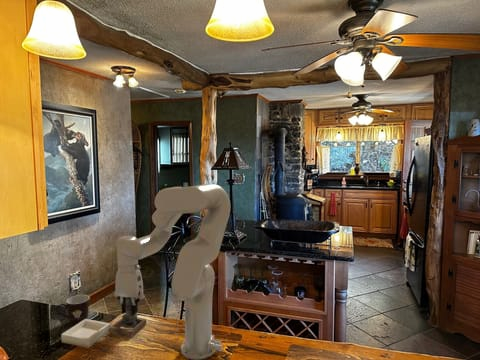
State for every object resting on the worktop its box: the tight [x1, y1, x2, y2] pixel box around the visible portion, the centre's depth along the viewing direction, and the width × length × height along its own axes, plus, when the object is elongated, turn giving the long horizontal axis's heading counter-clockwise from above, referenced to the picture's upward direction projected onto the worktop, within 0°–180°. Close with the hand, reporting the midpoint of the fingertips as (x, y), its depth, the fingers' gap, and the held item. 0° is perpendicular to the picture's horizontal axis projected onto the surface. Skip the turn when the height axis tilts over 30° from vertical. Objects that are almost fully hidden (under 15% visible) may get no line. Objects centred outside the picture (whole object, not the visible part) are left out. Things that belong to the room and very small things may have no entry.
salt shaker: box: [121, 297, 138, 329], centre depth 128 cm, size 6×6×12 cm
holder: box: [108, 317, 147, 339], centre depth 129 cm, size 10×10×2 cm
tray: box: [60, 318, 112, 349], centre depth 124 cm, size 12×12×3 cm
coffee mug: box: [55, 294, 91, 328], centre depth 134 cm, size 12×9×10 cm
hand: (129, 312), depth 128 cm, fingers closed on salt shaker, 3 cm apart
